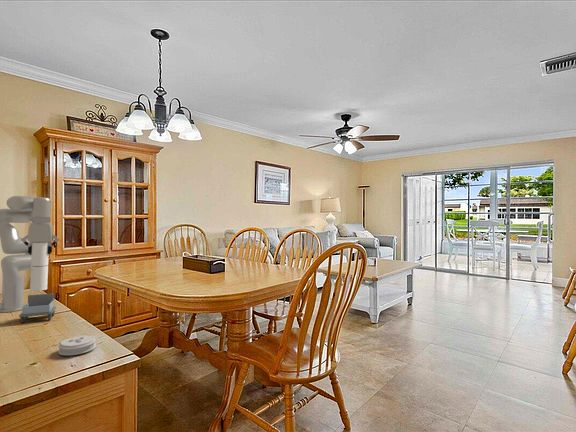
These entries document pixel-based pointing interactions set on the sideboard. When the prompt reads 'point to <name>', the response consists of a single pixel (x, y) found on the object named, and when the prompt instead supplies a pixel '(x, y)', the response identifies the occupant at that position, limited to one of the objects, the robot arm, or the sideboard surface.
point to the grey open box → (38, 306)
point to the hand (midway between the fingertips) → (40, 253)
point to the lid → (77, 345)
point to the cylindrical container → (39, 266)
